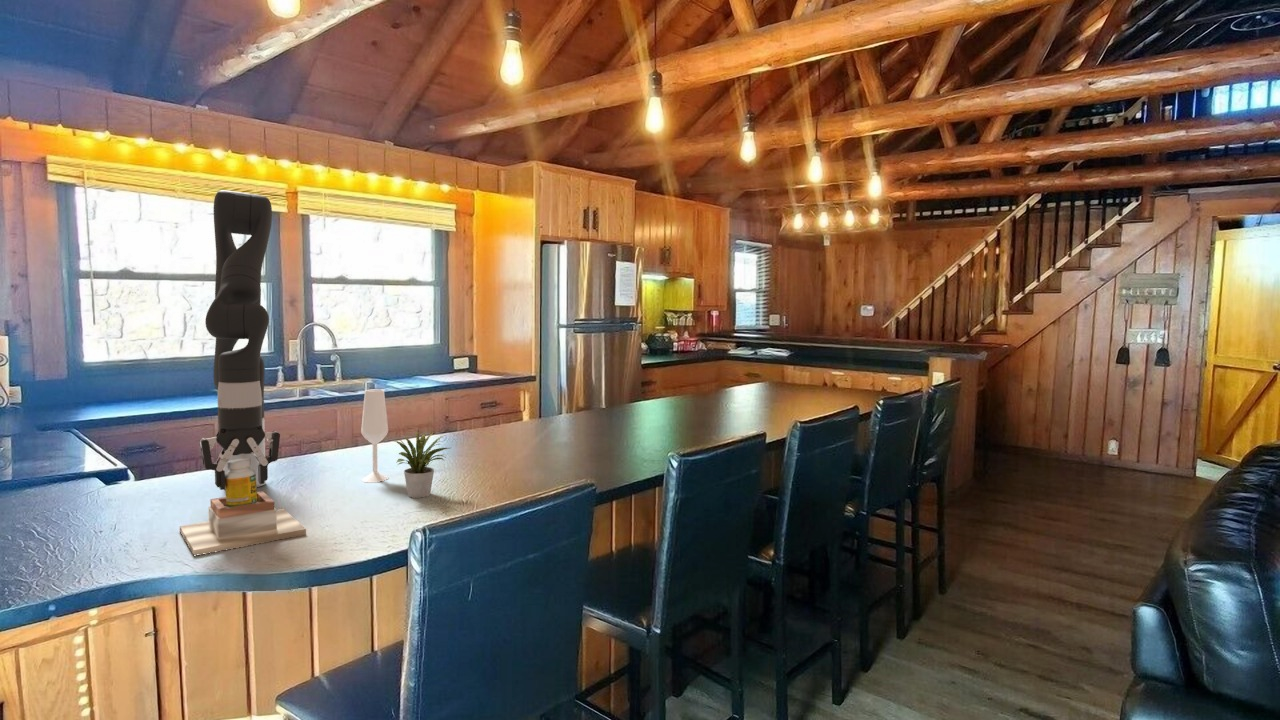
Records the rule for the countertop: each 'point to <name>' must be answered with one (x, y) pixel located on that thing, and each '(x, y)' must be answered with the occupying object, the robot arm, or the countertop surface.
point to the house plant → (419, 466)
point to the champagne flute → (374, 426)
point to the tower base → (213, 544)
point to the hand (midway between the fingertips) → (241, 485)
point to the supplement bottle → (240, 483)
